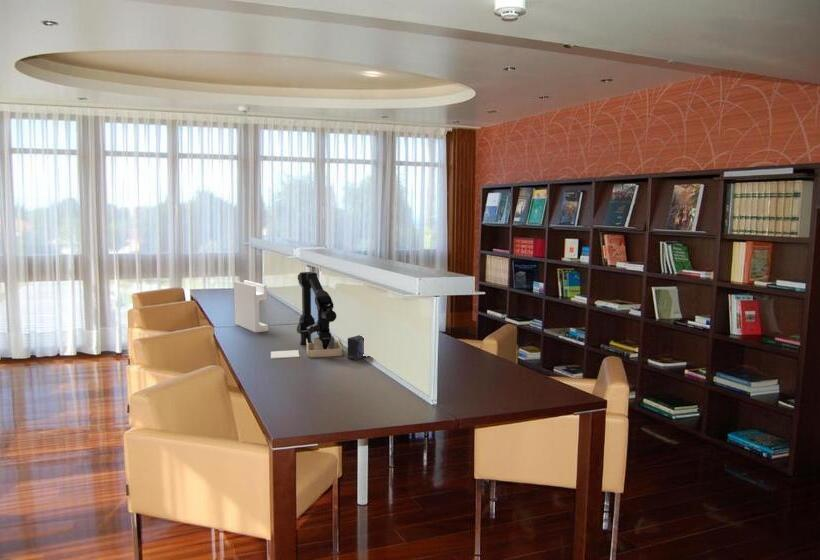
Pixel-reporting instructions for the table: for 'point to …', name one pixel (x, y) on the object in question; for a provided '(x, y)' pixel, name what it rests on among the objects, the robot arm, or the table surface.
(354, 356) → the small box
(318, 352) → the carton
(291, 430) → the table surface
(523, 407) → the table surface
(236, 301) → the block
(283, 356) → the white square tile
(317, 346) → the block
